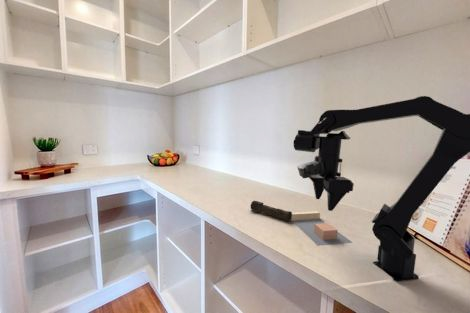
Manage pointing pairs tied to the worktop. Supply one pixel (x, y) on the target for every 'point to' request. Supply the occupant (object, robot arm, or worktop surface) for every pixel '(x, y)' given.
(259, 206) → the hand tool
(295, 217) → the slate mat
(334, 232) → the salmon brown block
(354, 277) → the worktop surface
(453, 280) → the worktop surface
